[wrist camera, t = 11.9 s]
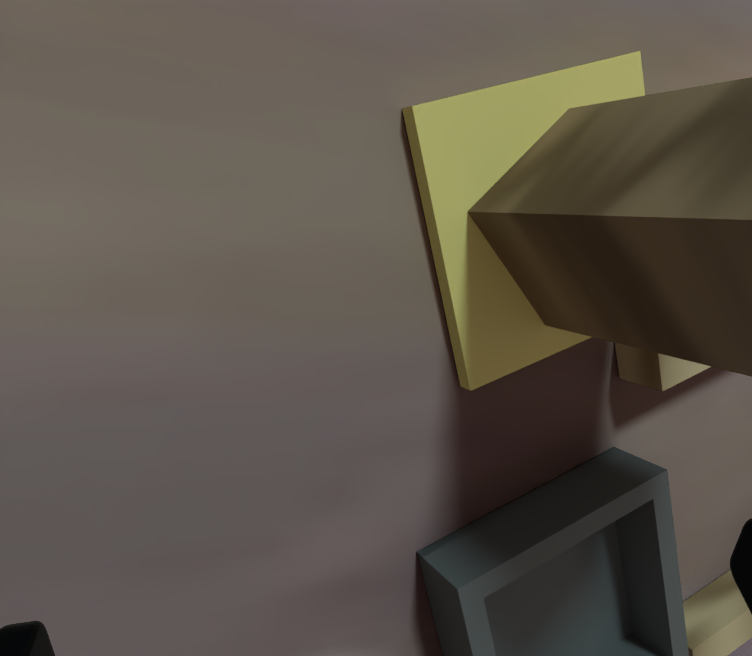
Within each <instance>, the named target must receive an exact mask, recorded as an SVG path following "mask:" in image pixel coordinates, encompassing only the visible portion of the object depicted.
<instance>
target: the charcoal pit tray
mask: <svg viewBox="0 0 752 656" xmlns="http://www.w3.org/2000/svg"><path fill="white" fill-rule="evenodd" d="M417 555H418V559H419V563H420V567H421V571H422V575H423V579H424V583H425V587H426V591H427V595H428V599H429V603H430V607H431V611H432V615H433V619H434V623H435V627H436V631H437V635H438V639H439V643H440V647H441V651H442V655H443V656H689V652H688V643H687V635H686V626H685V618H684V609H683V601H682V592H681V584H680V575H679V567H678V558H677V550H676V541H675V533H674V524H673V516H672V507H671V499H670V490H669V482H668V473H667V469H664V468H662V467H660V466H657V465H655V464H653V463H650V462H648V461H646V460H643V459H641V458H639V457H636V456H634V455H632V454H629V453H627V452H625V451H622V450H620V449H618V448H615V447H613V448H611V449H609V450H608V451H606V452H604V453H602V454H600V455H598V456H596V457H594V458H592V459H591V460H589V461H587V462H585V463H583V464H581V465H579V466H577V467H576V468H574V469H572V470H570V471H568V472H566V473H564V474H562V475H560V476H559V477H557V478H555V479H553V480H551V481H549V482H547V483H545V484H544V485H542V486H540V487H538V488H536V489H534V490H532V491H530V492H528V493H527V494H525V495H523V496H521V497H519V498H517V499H515V500H513V501H512V502H510V503H508V504H506V505H504V506H502V507H500V508H498V509H497V510H495V511H493V512H491V513H489V514H487V515H485V516H483V517H481V518H480V519H478V520H476V521H474V522H472V523H470V524H468V525H466V526H465V527H463V528H461V529H459V530H457V531H455V532H453V533H451V534H449V535H448V536H446V537H444V538H442V539H440V540H438V541H436V542H434V543H433V544H431V545H429V546H427V547H425V548H423V549H421V550H419V551H417Z"/></svg>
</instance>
